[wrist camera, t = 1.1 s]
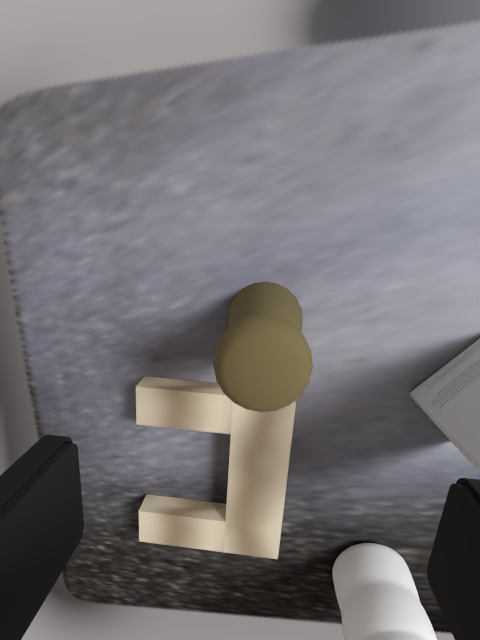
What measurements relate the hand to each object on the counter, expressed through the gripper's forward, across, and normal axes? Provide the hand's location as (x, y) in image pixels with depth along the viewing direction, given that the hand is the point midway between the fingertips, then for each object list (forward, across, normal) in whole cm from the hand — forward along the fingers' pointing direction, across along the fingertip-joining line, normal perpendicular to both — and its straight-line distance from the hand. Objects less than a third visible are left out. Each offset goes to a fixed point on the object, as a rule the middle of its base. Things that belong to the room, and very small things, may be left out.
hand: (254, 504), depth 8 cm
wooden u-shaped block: (+19, +3, +14) cm, 24 cm away
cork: (+19, 0, 0) cm, 19 cm away
